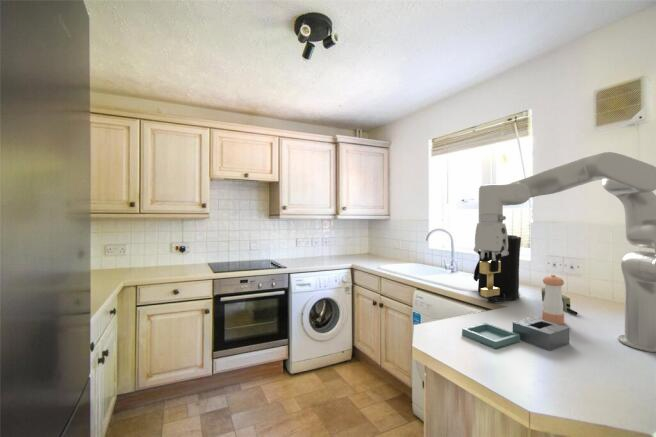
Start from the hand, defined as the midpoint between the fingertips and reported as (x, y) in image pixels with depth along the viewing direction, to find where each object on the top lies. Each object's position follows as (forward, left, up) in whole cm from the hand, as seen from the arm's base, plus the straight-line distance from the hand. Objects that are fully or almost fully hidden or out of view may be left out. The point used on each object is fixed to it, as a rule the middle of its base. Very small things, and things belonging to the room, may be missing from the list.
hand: (490, 270), depth 106 cm
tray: (0, 0, -24) cm, 24 cm away
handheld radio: (+9, -63, -25) cm, 69 cm away
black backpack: (+38, -56, -25) cm, 72 cm away
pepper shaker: (0, -40, -25) cm, 47 cm away
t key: (0, 0, -9) cm, 9 cm away
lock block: (-9, -14, -24) cm, 29 cm away
